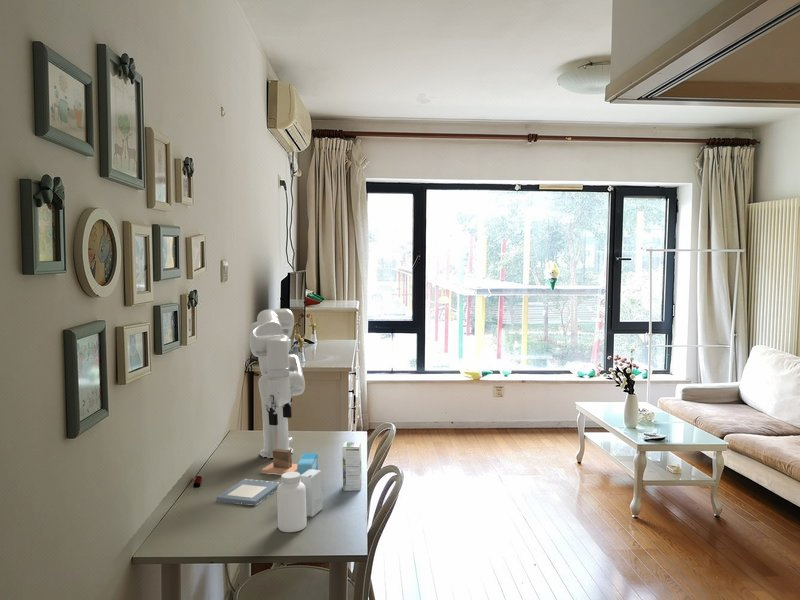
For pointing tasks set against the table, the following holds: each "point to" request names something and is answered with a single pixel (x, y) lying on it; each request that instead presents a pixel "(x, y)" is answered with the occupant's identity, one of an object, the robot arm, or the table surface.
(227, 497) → the board
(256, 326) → the robot arm
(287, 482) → the pill bottle
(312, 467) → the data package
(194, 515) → the table surface
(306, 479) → the skincare box
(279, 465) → the stub
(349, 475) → the syrup box
